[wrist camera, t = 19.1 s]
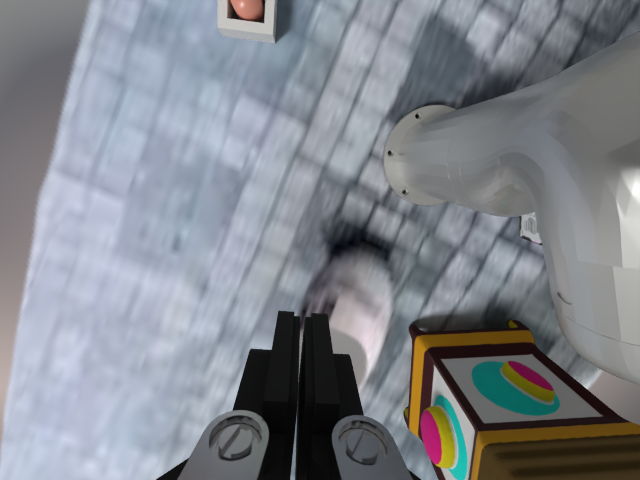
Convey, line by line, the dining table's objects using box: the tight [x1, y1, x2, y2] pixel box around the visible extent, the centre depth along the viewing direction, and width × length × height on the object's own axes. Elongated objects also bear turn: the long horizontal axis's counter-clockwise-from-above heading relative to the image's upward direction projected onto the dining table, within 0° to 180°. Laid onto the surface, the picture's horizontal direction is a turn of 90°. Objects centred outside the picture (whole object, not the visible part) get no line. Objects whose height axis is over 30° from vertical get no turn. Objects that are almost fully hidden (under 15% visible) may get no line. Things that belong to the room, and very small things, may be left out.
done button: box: [231, 0, 264, 22], centre depth 33 cm, size 3×3×3 cm
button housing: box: [218, 0, 278, 43], centre depth 34 cm, size 6×6×3 cm
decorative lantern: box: [404, 320, 640, 480], centre depth 35 cm, size 20×20×30 cm
